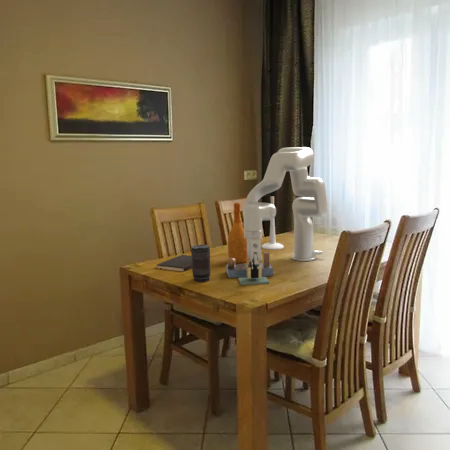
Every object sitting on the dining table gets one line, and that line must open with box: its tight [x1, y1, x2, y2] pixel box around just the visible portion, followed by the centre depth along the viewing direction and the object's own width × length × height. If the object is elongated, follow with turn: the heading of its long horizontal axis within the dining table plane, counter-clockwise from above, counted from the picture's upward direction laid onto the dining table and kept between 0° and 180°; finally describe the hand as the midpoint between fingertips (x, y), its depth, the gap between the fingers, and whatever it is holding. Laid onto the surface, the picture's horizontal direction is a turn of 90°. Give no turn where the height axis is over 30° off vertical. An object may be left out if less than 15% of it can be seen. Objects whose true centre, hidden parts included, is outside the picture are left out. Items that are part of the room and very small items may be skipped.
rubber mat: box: [237, 276, 270, 286], centre depth 190 cm, size 12×8×1 cm, turn 96°
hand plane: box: [225, 251, 274, 279], centre depth 202 cm, size 20×10×10 cm, turn 96°
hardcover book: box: [156, 254, 192, 272], centre depth 222 cm, size 16×23×2 cm
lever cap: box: [246, 263, 263, 278], centre depth 189 cm, size 6×5×5 cm
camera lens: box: [190, 244, 211, 283], centre depth 193 cm, size 8×8×15 cm
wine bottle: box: [227, 202, 248, 264], centre depth 223 cm, size 10×10×30 cm
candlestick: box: [261, 195, 284, 251], centre depth 255 cm, size 13×13×30 cm
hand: (253, 275), depth 190 cm, fingers closed on lever cap, 4 cm apart
